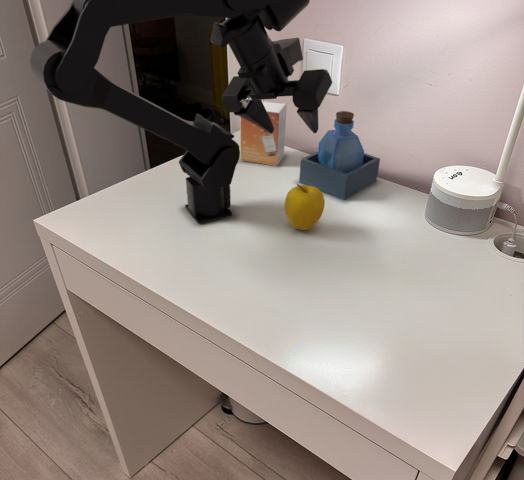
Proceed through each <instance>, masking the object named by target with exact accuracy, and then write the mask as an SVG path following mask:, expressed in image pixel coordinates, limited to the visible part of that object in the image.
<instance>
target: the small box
mask: <svg viewBox="0 0 524 480" xmlns="http://www.w3.org/2000/svg"><path fill="white" fill-rule="evenodd" d="M262 103H263V105H264V107H265V109H266V111H267V113H268V115H269V117H270V119H271V121H272V124H273V127H274V131H273V133H272V134H270V133H268V132H267V131H265V130H263V129H262V128H260V127H259V126H257V125H255V124H253V123H252V122H250V121H248V120H246V119H244V118H242V117H240V116H239V118H240V122H239V124H240V126H239V130H240V131H239V133H240V134H239V135H240V136H239V138H240V139H239V140H240V142H239V143H240V144H239V150H240V158H239V160H240V161H243V162H249V163H250V162H251V163H258V164H263V165H267V166H274V167H277V166H278V165H279V164H280V162H281V161H282V159H283V158H284V156H285V145H286V144H285V143H286V124H287V106H288V105H287V103H283V102H282V103H279V102H269V101H262Z"/></svg>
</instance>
